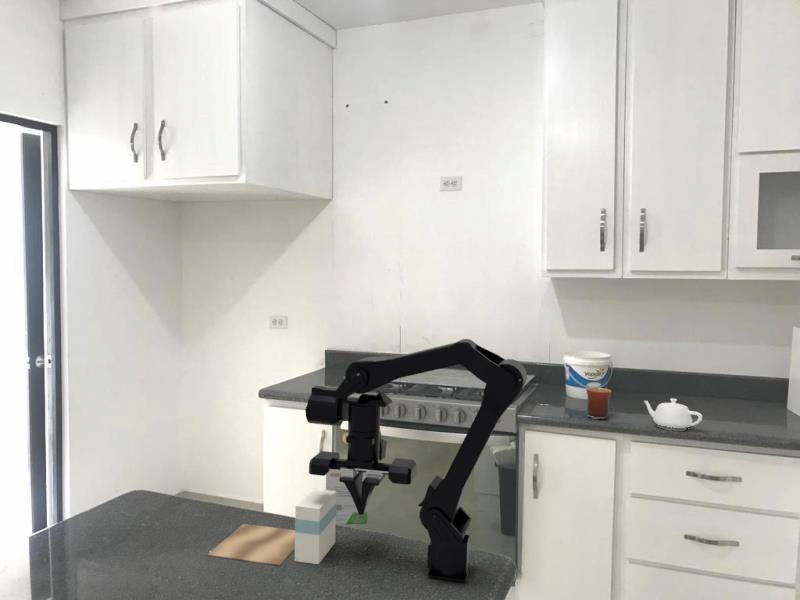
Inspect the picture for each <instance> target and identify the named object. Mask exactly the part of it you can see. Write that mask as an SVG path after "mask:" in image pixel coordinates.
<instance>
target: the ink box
mask: <svg viewBox="0 0 800 600" xmlns="http://www.w3.org/2000/svg"><path fill="white" fill-rule="evenodd" d="M340 477H341V470H337V469H330V471H329V472H328V473H327V474H326V475H325V490H330V491H336V525H337V526H338V525H363V524H364V525H365V524H368V507H367V508H366V511H365V513H364V515H360V514H359V513H358V511H357V508H356V506H355V503H354V501H353V499H352V496H351V494H350V492H349V491H348V489H347V487H346V485H345V484H344V483H343V482H340V481H339V478H340ZM366 477H367V475H366V472H363V479H362V482H363V480H364V479H365V478H366Z"/></svg>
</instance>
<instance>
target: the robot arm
mask: <svg viewBox="0 0 800 600" xmlns="http://www.w3.org/2000/svg"><path fill="white" fill-rule="evenodd" d="M458 365H460V366H461V367H463V368H465V369H466V370H467V371H469V372H470V373H471V374H472V375H473V376H475V377H476V378H477V379H478V380H480V381H482V382H483V383H485V387H484V391H483V392H482V394H483V395H482V396H481V397H482V398H481V402H480V407H479V409H478V412H477V413H476V415H475V418H474V419H473V421H472V424H471V425H470V427H469V429H468V431H467V434H465V437H464V439H463V440H462V443H461V444H460V447H459V449H458V451H457V453H456V455H455V457H454V459H453V461H452V463H451V464H450V467H449V469H448V471H447V473H445V475H444V477H443V478H442V477H441V476H439V475H438V474H436V475H435V476H434V478H433V479H432V480H431V482H430V483H429V484H428V486H427V489H426V492H425V495H424V496H423V498H422V499H421V501H420V502H419V504H418V507H421V508H420V510H419V515H418V517H419V519H420V522H421V525H422V526H423V528H424V529H426V530H427V534H428V536H429V539H430V541H429V543H428V545H427V558H426V559H427V561H426V562H427V563H426V564H427V565H426V568H427V570H428V573H427V577H428V578H431V579H437V580H438V579H439V580H443V581H444V580H445V581H451V582H452V581H453V582H459V583H466V582H467V579H468V575H469V571H470V567H471V562H469V561H470V559H469V557H470V535H469V534H466V533H467V531H468V529H469V528H470V525H471V522H472V518H471V517H470V515H469V514H468V513H467V512H466V511H465V509H464V508H463V507H462V502H463V499H464V495H465V490H466V486H467V483H468V480H469V479H470V477H471V475H472V472H473V470H475V467H476V464H477V462H478V461H479V458H480V457H481V454H482V453H483V451H484V450H485V447H486V445H487V443H488V442H489V439H490V437H491V436H492V434H493V432H494V430H495V427H496V426H497V423H498V422H499V420H500V419H501V417H502V415H504V413H505V412H506V411H507V410H508V408H509V407H510V406H511V405H512V403H513V402H514V401H515V399H516V398H517V397H518V396H519V394H520V393H521V391H522V389H523V387H524V386H525V384H526V382H527V379H528V378H527V377H528V374H527V370H526V368H525V366H524V365H523V364H522V363H521V362H520V361H519V360H516V359H513V358H504V357H502V356H500V355H499V354H497V353H495V352H493V351H491V350H489V349H486V348H485V347H482V346H481V345H479V344H477V343H476V342H475V341H473V340H472V339H469V338H463V339H460V340H457V341H456V342H452V343H447V344H443V345H439V346H436V347H431V348H427V349H423V350H418V351H415V352H411V353H406V354H403V355H394V356H393V355H392V356H391V355H389V356H388V355H383V356H382V355H381V356H367V357H364V358H362V359H358V360H356V361H354V362H351V363H350V364H348V365H347V368H346V370H345V375H344V377H345V378H344V379H343V380H342V382H341V383H340V385H338V387H337V388H332V387H326V386H322V385H315V386H312V388H311V391H310V392H311V394H310V395H309V397H308V399H307V405H306V407H305V418H306V421H307V423H309V424H315V425H324V426H333V427H340V426H341V425H342V424H343V422H347V436H346V437H345V443H347V456H346V457H347V458H346V459H345V458H340V454H339V452H335V451H324V450H320V451H319V452H318V453H317V454H316V455H314V456H313V457H312V458H311V459H309V463H308V474H309V475H313V476H324V477H326V474H327V473H328V472H329V471H330V469H337V470H341V477H340V478H339V481H340V482H343V483H344V484H345V485H346V487H347V489H348V491H349V492H350V494H351V496H352V499H353V501H354V503H355V506H356V508H357V511H358V513H359V514H360V515H364V513H365V511H366V508H367V509H368V506H369V502H370V500H371V496H372V494H373V491H374V489H375V487H378V486H379V485H380V484H381V483H382V482H383V481H384V480H385V478H386V475H387V476H388V477H387V479H388V480H389V481H390V482H391V483H392V484H397V485H405V486H407V485H411V484H412V483H413V481H414V480H415V477H416V476H417V473H418V469H417V468H418V466H417V463H416V461H415V460H414V459H407V458H406V459H405V458H394V459H393V461H391V463H386V462H380V461H383V460H384V459H385V458H386V452H387V443H388V440H385V439H382V432H381V407H383V408H387V407H388V406H389V405H390V404H392V403H393V400H392V399H391V397H389V396H388V395H387V394H386V392H385V390H381V391H379V392H378V393H377V394H370V393H369V392H371V391H373V390H375V389H378V388H380V387H382V386H384V385H386V384H389V383H391V382H394V381H396V380H398V379H402V378H405V377H406V378H407V377H409V376H414V375H418V374H424V373H427V372H433V371H436V370H440V369H444V368H448V367H455V366H458ZM354 394H358V395H360V396H359V397H354V396H353V397H352V395H354ZM347 420H348V421H347ZM363 472H366V475H367V477H366V478H365V479H364V480H363V482H362V479H363Z"/></svg>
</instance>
